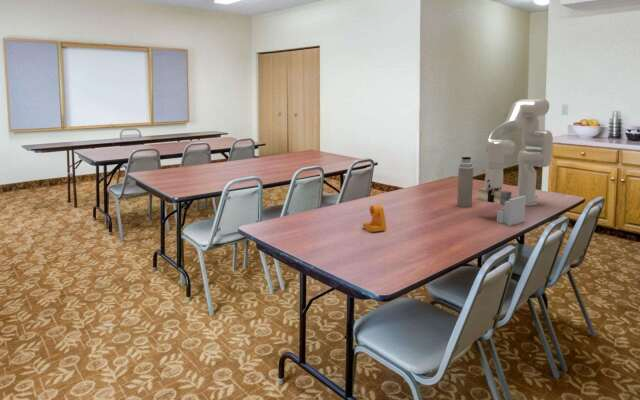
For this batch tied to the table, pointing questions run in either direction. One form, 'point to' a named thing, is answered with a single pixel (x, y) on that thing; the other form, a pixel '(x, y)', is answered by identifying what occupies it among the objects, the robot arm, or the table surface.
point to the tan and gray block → (498, 196)
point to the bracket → (376, 219)
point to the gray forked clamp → (512, 211)
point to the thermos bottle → (465, 183)
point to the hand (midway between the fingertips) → (493, 201)
